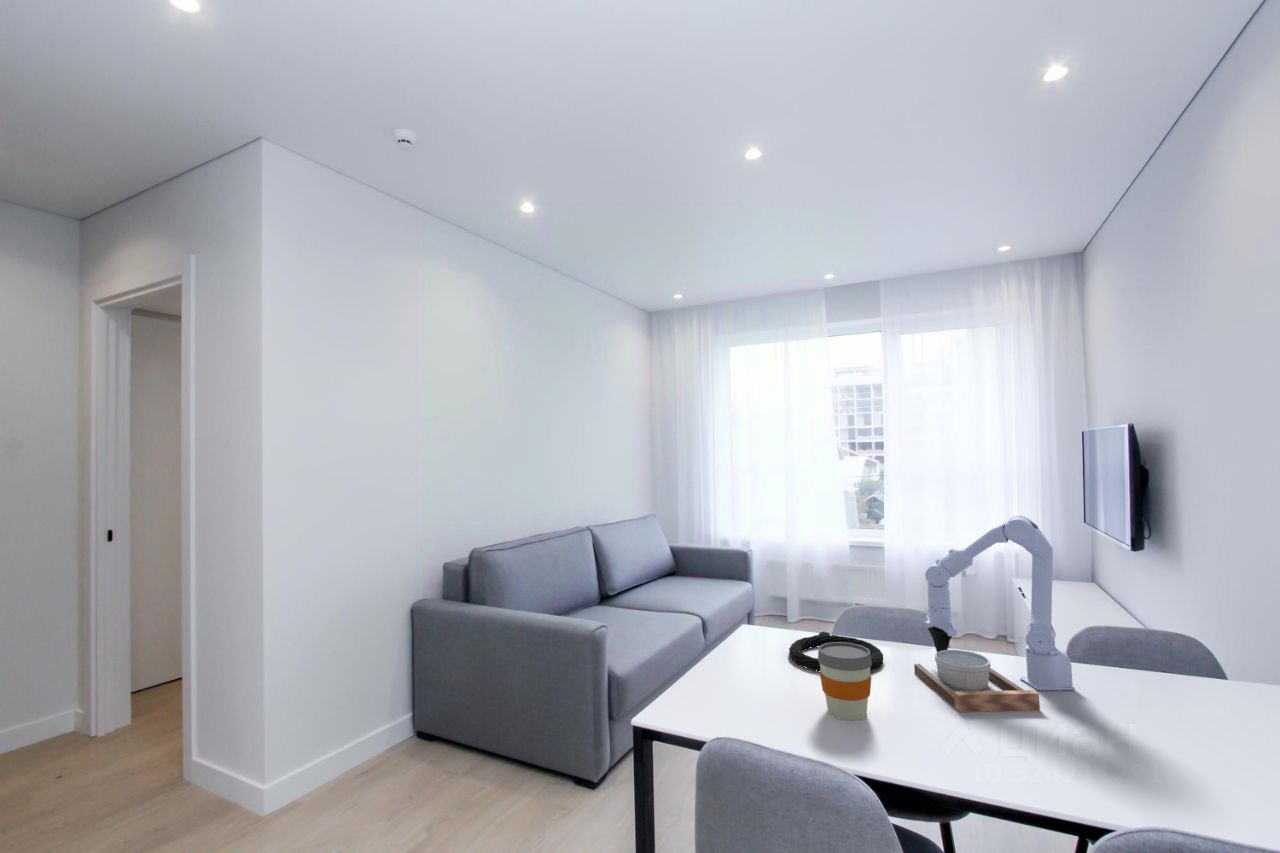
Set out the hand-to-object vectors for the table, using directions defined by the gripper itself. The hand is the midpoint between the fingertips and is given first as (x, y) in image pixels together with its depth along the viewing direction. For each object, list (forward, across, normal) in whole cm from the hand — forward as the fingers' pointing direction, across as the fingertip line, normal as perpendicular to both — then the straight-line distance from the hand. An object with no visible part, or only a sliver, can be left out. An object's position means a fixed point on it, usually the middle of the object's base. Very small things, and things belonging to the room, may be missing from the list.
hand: (941, 653), depth 170 cm
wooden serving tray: (+4, +16, 0) cm, 16 cm away
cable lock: (+5, -10, -28) cm, 30 cm away
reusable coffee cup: (+4, +28, -36) cm, 45 cm away
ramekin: (+4, +12, 0) cm, 12 cm away
